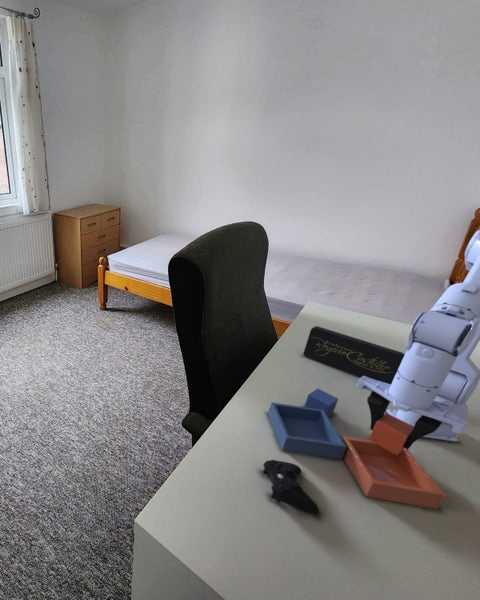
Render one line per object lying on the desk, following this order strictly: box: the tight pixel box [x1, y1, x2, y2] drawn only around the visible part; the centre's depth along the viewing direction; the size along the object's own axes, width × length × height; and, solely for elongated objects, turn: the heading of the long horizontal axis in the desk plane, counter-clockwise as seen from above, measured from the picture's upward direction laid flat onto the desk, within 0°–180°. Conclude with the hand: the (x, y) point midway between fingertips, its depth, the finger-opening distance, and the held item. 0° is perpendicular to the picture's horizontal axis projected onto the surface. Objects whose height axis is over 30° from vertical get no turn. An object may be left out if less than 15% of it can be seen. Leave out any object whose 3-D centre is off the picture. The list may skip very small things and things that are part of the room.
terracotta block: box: [368, 412, 414, 455], centre depth 64 cm, size 4×4×4 cm
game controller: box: [262, 459, 320, 515], centre depth 62 cm, size 10×5×7 cm
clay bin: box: [341, 436, 447, 510], centre depth 64 cm, size 11×11×4 cm
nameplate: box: [302, 325, 405, 385], centre depth 95 cm, size 21×2×10 cm, turn 41°
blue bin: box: [267, 402, 346, 460], centre depth 74 cm, size 11×11×4 cm
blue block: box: [303, 388, 339, 418], centre depth 80 cm, size 4×4×4 cm
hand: (389, 436), depth 64 cm, fingers closed on terracotta block, 4 cm apart
